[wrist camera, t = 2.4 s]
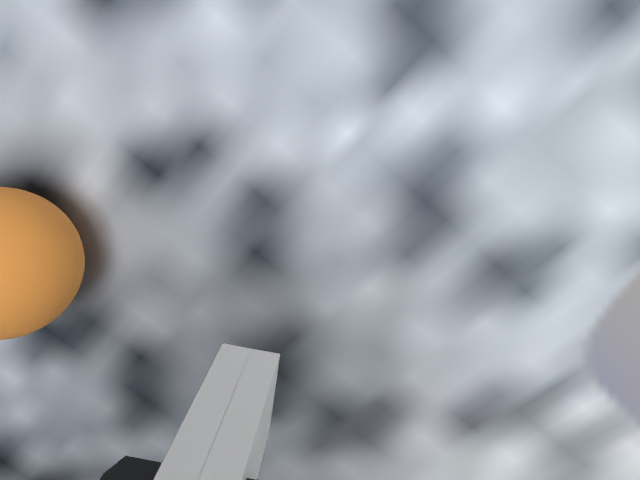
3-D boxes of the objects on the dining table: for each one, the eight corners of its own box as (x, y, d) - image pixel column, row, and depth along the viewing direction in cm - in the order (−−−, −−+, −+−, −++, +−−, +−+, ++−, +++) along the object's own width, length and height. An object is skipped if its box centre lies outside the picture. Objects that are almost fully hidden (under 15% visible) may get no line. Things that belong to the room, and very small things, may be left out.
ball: (111, 307, 22) (31, 385, 17) (-13, 284, 22) (-128, 355, 17) (111, 183, 20) (22, 230, 15) (-25, 160, 20) (-158, 198, 15)
